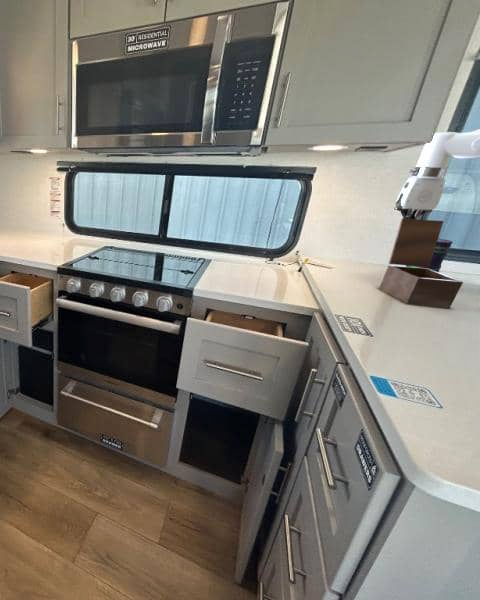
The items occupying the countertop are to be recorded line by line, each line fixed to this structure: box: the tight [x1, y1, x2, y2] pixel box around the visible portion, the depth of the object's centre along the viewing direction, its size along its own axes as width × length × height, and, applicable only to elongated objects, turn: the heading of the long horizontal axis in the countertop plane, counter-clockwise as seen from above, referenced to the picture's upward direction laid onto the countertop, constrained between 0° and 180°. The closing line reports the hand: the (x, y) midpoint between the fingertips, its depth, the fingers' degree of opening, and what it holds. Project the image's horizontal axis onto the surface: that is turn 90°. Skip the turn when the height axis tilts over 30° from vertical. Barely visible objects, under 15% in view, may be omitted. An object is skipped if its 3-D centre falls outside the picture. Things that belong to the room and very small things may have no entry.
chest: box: [378, 264, 464, 309], centre depth 108 cm, size 15×12×9 cm
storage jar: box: [405, 237, 454, 273], centre depth 132 cm, size 10×10×15 cm
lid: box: [388, 218, 444, 267], centre depth 111 cm, size 15×12×1 cm
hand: (404, 228), depth 117 cm, fingers closed
